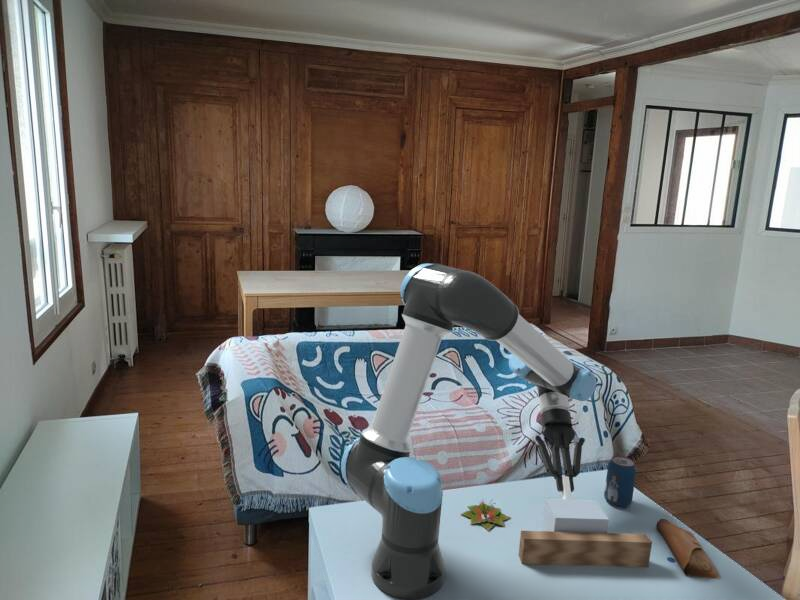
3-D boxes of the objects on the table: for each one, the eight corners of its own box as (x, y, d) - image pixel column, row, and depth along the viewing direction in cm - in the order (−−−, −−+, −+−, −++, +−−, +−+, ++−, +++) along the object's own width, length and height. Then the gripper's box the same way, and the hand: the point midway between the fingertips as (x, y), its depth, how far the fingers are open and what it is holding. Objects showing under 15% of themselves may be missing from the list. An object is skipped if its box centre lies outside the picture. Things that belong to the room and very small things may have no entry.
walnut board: (521, 563, 124) (524, 538, 123) (518, 555, 127) (521, 530, 126) (648, 567, 125) (652, 542, 124) (642, 558, 128) (645, 534, 127)
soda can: (630, 499, 154) (636, 457, 152) (632, 512, 147) (638, 469, 145) (603, 493, 156) (608, 452, 154) (603, 506, 149) (609, 463, 147)
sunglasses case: (724, 579, 122) (712, 554, 122) (692, 591, 123) (680, 566, 123) (690, 531, 140) (679, 508, 139) (662, 542, 141) (651, 519, 140)
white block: (551, 554, 128) (555, 517, 127) (541, 533, 136) (545, 498, 134) (604, 555, 129) (608, 519, 127) (591, 534, 137) (595, 500, 135)
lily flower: (451, 515, 142) (452, 499, 141) (482, 499, 150) (483, 483, 149) (489, 539, 133) (490, 521, 132) (519, 520, 141) (521, 504, 140)
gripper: (534, 405, 147) (545, 499, 134) (584, 408, 147) (600, 502, 134) (527, 417, 153) (536, 508, 140) (575, 419, 153) (589, 510, 140)
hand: (567, 505), depth 137 cm, fingers closed
